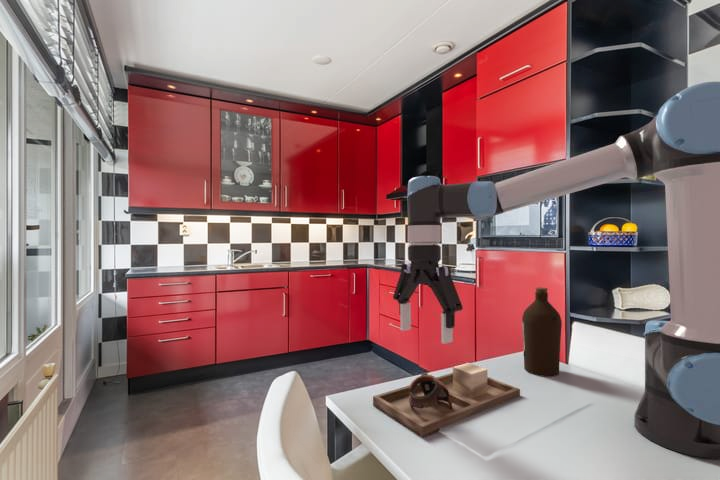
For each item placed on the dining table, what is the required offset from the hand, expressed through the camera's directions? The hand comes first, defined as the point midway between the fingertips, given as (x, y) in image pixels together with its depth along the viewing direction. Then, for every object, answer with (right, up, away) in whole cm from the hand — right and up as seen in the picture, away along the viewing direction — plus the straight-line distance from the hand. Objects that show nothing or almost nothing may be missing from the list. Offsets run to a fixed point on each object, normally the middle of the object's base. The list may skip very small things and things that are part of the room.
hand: (425, 335), depth 84 cm
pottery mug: (+1, -17, +1) cm, 17 cm away
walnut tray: (+6, -17, +5) cm, 19 cm away
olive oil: (+40, -17, +25) cm, 50 cm away
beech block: (+13, -17, +9) cm, 23 cm away
